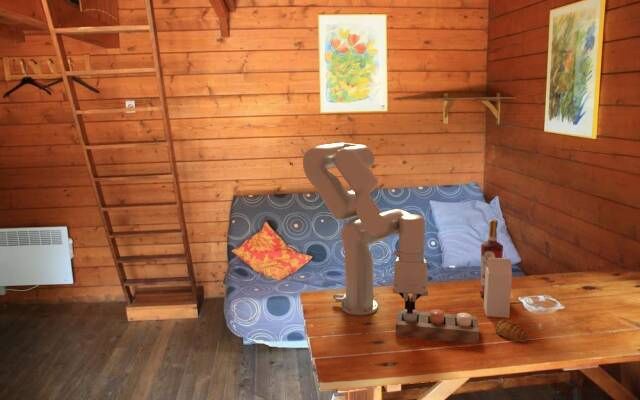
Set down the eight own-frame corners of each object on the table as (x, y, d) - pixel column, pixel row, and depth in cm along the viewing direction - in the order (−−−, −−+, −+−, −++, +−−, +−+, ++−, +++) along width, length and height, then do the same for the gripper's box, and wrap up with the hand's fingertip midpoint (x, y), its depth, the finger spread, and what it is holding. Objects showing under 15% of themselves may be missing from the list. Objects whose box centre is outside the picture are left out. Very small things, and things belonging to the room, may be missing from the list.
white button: (456, 330, 144) (457, 318, 143) (456, 324, 148) (456, 312, 147) (471, 332, 143) (471, 319, 142) (470, 325, 147) (471, 313, 146)
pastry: (533, 338, 143) (534, 326, 142) (521, 346, 139) (522, 334, 138) (505, 326, 150) (506, 315, 149) (492, 333, 146) (493, 322, 145)
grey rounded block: (402, 326, 148) (402, 314, 147) (403, 319, 152) (404, 308, 151) (416, 327, 147) (416, 315, 146) (417, 321, 151) (417, 309, 150)
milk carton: (509, 318, 155) (512, 262, 151) (486, 316, 156) (489, 261, 152) (505, 308, 162) (508, 255, 157) (483, 307, 163) (486, 254, 159)
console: (395, 336, 146) (395, 324, 145) (398, 320, 155) (398, 309, 154) (478, 344, 140) (478, 331, 139) (476, 327, 150) (476, 316, 149)
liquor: (476, 297, 170) (480, 221, 164) (481, 290, 177) (485, 216, 170) (497, 301, 167) (502, 224, 160) (502, 294, 173) (506, 219, 166)
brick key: (429, 327, 146) (429, 315, 145) (429, 320, 150) (430, 308, 149) (443, 328, 145) (444, 316, 144) (443, 321, 149) (444, 310, 148)
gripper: (384, 258, 142) (384, 314, 147) (436, 261, 139) (434, 319, 143) (387, 249, 149) (387, 303, 154) (437, 252, 146) (434, 308, 150)
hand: (409, 311), depth 148 cm, fingers closed
